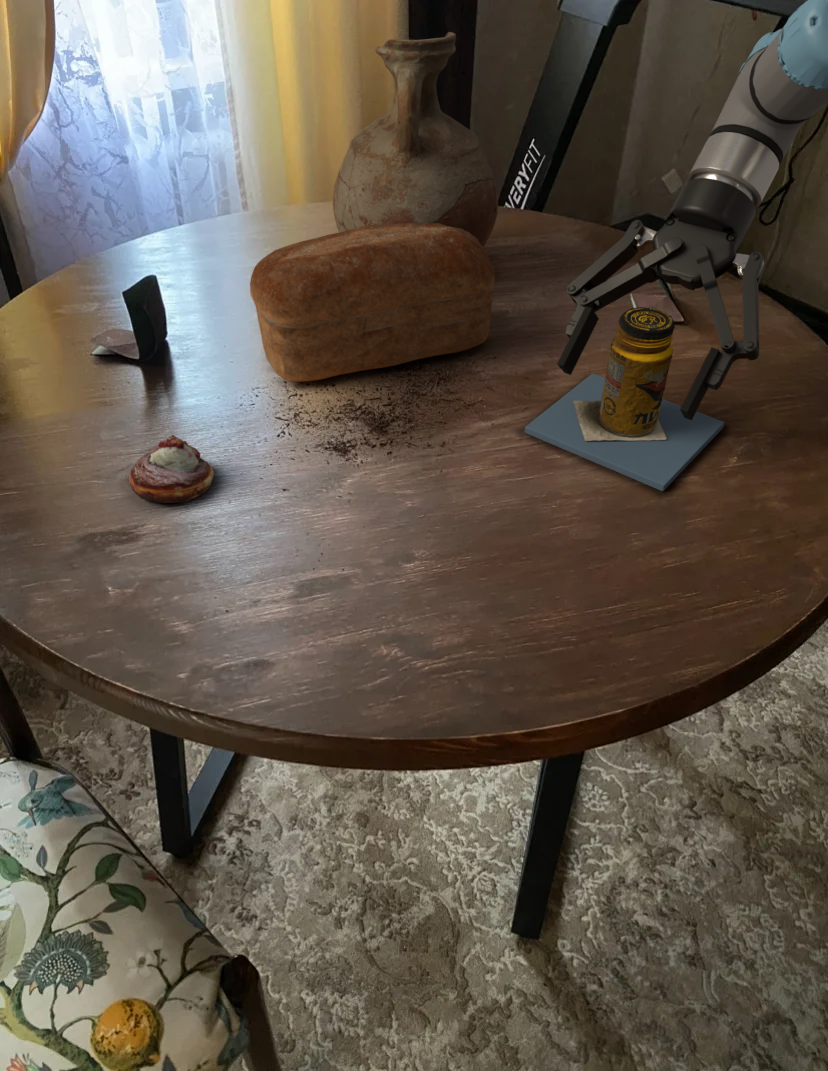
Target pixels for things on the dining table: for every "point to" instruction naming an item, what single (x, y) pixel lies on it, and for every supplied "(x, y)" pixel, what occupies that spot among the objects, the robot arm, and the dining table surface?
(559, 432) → the sauce mat
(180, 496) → the pastry
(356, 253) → the bread
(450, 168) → the jug
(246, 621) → the dining table surface
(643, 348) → the condiment
